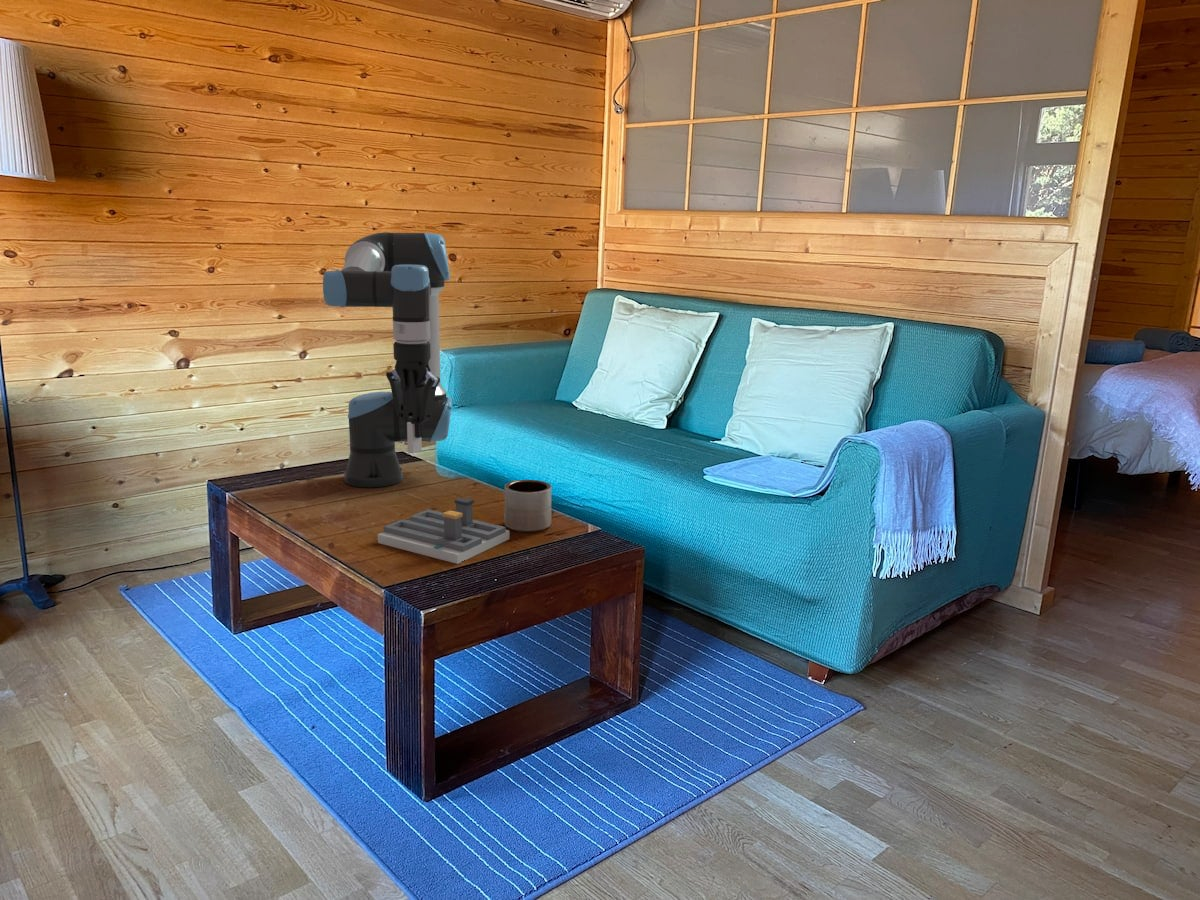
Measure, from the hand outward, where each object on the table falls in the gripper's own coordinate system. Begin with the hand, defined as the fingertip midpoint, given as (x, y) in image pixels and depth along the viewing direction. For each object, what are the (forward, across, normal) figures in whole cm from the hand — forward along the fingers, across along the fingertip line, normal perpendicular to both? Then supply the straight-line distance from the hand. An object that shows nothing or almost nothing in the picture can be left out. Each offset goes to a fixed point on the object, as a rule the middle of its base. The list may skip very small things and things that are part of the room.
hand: (414, 451), depth 193 cm
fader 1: (+18, +10, -1) cm, 21 cm away
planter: (+21, +14, +22) cm, 33 cm away
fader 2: (+18, +7, +8) cm, 21 cm away
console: (+20, +5, +4) cm, 21 cm away
